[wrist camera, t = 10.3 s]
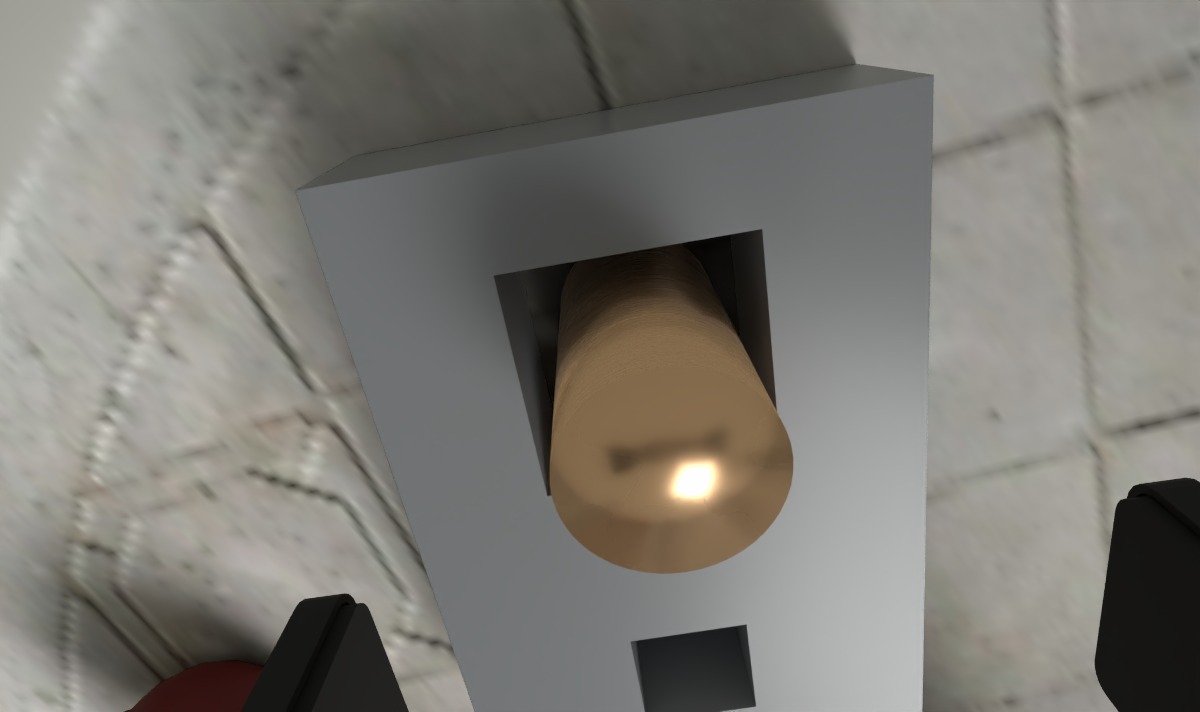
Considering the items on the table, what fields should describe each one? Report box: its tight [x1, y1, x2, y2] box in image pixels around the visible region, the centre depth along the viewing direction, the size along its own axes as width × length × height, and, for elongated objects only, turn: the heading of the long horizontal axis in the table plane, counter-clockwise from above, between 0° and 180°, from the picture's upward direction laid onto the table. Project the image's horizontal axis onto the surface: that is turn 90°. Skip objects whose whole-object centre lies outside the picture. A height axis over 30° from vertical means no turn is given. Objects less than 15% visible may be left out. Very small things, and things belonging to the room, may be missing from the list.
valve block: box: [295, 64, 934, 712], centre depth 19 cm, size 12×18×4 cm, turn 10°
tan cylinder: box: [550, 243, 793, 574], centre depth 16 cm, size 4×4×8 cm
